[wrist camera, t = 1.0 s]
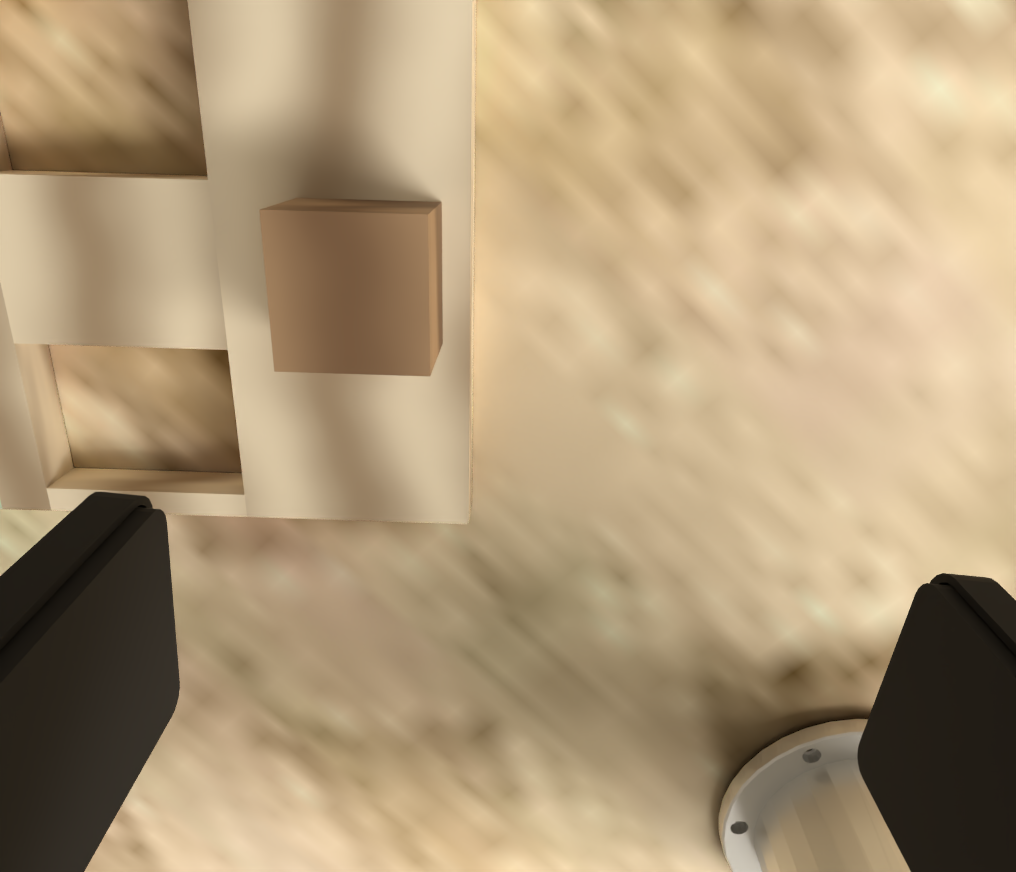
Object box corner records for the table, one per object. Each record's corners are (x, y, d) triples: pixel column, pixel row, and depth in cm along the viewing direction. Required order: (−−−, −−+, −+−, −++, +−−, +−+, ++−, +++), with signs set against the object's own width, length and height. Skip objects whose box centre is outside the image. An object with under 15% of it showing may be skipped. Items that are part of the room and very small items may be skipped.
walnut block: (441, 201, 26) (427, 214, 23) (442, 343, 28) (430, 376, 24) (296, 197, 26) (259, 209, 23) (307, 339, 28) (274, 371, 25)
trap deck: (476, -40, 25) (467, -68, 22) (471, 501, 33) (464, 549, 29) (-302, -60, 26) (-442, -90, 22) (-129, 482, 33) (-212, 527, 29)
